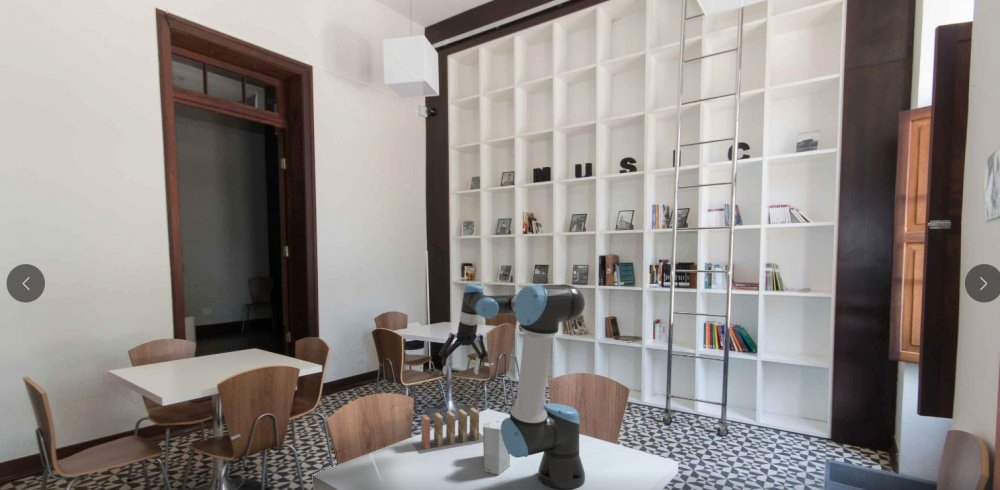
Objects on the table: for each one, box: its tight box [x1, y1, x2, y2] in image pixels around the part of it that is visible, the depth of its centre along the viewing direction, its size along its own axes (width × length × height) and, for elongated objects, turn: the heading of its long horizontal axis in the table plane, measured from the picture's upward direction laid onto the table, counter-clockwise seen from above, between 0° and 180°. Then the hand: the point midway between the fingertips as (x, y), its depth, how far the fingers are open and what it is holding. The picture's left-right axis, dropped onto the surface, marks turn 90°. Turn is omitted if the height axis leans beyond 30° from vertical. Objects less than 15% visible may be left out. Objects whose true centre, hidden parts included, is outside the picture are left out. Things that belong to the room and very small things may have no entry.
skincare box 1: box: [482, 422, 492, 462], centre depth 159 cm, size 6×4×12 cm
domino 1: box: [421, 414, 431, 450], centre depth 169 cm, size 2×6×11 cm, turn 25°
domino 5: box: [469, 407, 480, 441], centre depth 178 cm, size 2×6×11 cm, turn 25°
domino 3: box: [445, 410, 456, 445], centre depth 174 cm, size 2×6×11 cm, turn 25°
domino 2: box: [433, 412, 444, 447], centre depth 172 cm, size 2×6×11 cm, turn 25°
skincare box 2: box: [484, 420, 511, 476], centre depth 152 cm, size 8×6×15 cm
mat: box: [411, 432, 483, 454], centre depth 174 cm, size 28×11×1 cm, turn 115°
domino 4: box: [457, 409, 468, 443], centre depth 176 cm, size 2×6×11 cm, turn 25°
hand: (460, 373), depth 179 cm, fingers open, 13 cm apart
